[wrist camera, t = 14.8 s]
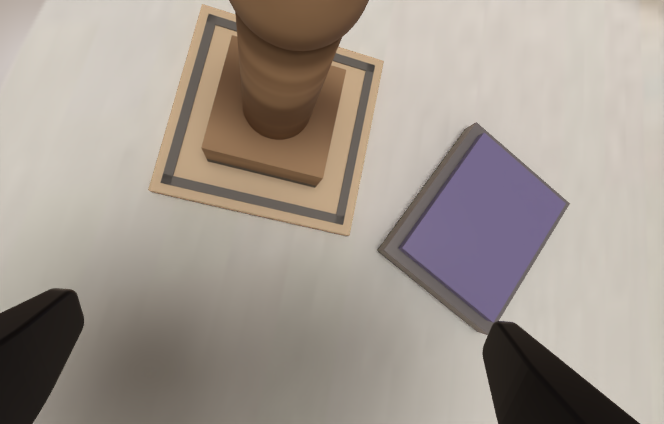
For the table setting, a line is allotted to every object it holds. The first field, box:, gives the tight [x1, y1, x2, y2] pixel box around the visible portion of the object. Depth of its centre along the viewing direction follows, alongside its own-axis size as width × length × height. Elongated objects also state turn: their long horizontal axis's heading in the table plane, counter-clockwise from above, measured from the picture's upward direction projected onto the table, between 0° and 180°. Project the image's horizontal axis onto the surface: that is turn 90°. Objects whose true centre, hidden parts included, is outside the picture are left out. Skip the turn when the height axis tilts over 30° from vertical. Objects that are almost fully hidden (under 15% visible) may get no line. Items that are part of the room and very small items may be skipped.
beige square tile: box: [148, 4, 384, 236], centre depth 22 cm, size 11×11×1 cm
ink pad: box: [377, 122, 570, 335], centre depth 23 cm, size 10×8×2 cm
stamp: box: [201, 0, 369, 188], centre depth 15 cm, size 6×6×14 cm
